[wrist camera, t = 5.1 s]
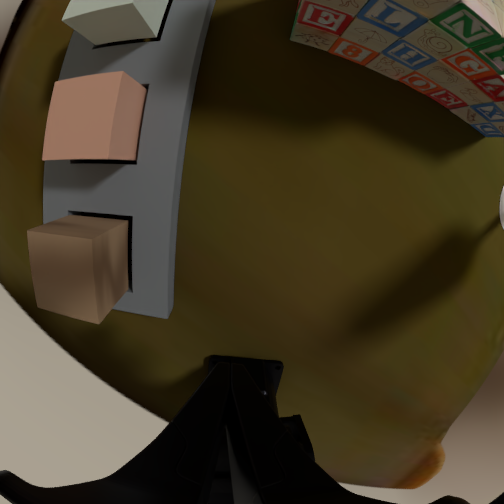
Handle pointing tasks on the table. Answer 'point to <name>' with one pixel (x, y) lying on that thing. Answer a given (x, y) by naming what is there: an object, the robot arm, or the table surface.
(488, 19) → the stack of blocks
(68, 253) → the walnut key
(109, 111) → the salmon pink cube
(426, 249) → the table surface
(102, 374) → the table surface
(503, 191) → the champagne flute
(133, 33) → the pale green cube
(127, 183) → the key board
